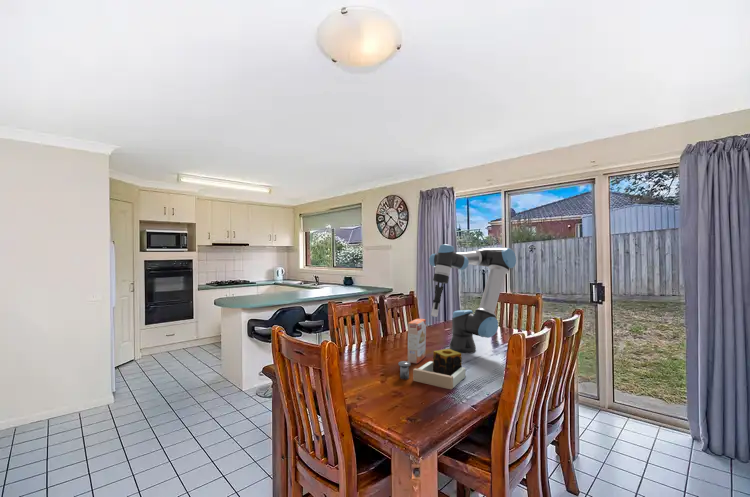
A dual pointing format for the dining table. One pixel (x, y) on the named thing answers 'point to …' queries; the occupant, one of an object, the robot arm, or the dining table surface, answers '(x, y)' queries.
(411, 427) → the dining table surface
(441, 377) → the bay
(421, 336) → the cracker box
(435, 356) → the candle
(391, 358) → the dining table surface
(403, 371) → the mushroom drawer knob
